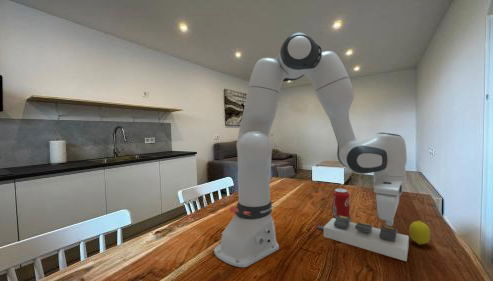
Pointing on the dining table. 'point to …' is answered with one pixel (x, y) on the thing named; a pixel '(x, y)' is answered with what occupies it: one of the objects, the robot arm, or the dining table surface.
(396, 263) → the dining table surface
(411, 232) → the lemon
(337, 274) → the dining table surface
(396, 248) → the rocker switch panel
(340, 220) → the rocker
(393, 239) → the rocker
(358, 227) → the rocker
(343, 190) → the beverage can
